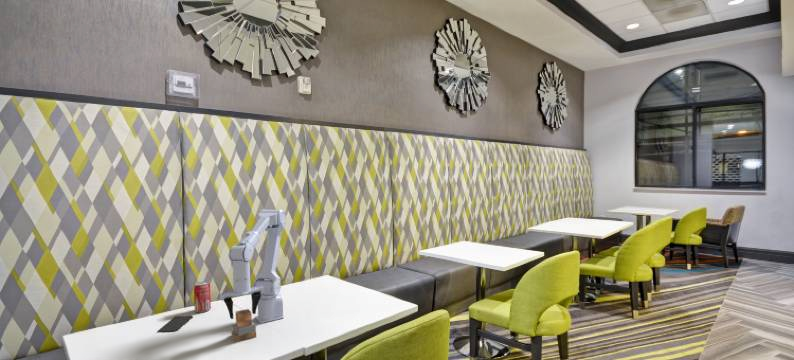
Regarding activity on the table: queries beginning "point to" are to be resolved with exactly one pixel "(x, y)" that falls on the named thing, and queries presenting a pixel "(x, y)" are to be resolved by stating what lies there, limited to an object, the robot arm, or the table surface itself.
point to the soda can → (202, 297)
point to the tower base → (243, 336)
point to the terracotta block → (243, 318)
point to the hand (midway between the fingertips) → (242, 315)
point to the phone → (175, 324)
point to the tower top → (244, 329)
